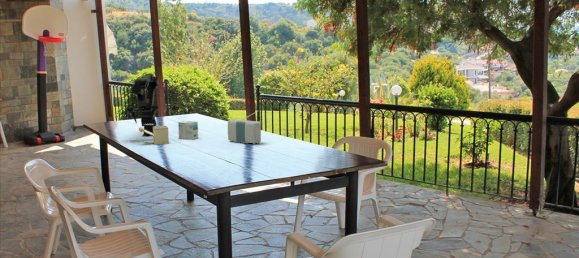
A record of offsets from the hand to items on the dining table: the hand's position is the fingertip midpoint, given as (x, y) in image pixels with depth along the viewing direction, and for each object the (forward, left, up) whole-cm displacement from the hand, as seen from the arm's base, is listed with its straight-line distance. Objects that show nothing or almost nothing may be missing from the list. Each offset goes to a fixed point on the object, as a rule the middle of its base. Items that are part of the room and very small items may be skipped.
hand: (144, 122), depth 342 cm
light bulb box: (-22, +15, -12) cm, 29 cm away
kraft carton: (-2, +12, -11) cm, 17 cm away
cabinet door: (+2, +10, -6) cm, 12 cm away
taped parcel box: (-31, +54, -12) cm, 64 cm away
